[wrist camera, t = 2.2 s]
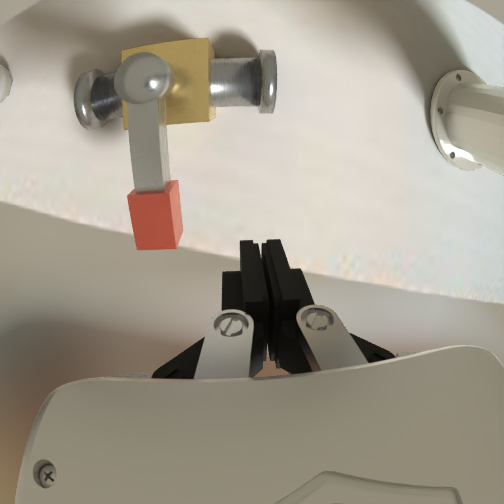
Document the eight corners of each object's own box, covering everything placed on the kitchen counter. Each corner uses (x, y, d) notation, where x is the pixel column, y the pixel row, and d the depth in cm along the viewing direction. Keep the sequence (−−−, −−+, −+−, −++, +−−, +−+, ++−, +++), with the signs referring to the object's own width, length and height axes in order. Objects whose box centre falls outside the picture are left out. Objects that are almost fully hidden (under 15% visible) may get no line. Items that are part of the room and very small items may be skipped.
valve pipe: (268, 52, 21) (284, 28, 13) (268, 116, 24) (283, 123, 16) (101, 69, 20) (50, 64, 12) (104, 129, 23) (55, 146, 15)
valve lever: (129, 62, 13) (113, 57, 11) (175, 55, 13) (165, 47, 11) (145, 231, 19) (134, 250, 17) (185, 230, 19) (179, 248, 17)
